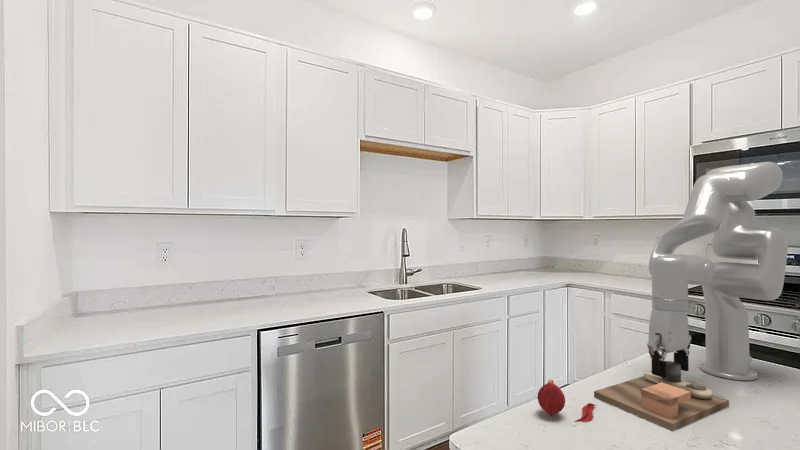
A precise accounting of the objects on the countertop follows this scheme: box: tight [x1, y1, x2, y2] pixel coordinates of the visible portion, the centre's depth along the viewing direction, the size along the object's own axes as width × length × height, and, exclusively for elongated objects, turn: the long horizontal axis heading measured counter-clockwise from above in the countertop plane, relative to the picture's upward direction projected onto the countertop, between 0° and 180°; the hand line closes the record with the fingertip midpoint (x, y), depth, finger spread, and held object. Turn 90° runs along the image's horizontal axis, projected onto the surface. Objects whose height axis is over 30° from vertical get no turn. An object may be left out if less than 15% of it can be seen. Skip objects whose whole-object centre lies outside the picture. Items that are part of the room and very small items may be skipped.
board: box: [593, 375, 730, 432], centre depth 92 cm, size 23×18×5 cm
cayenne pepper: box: [573, 402, 597, 423], centre depth 87 cm, size 12×5×2 cm, turn 123°
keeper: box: [641, 382, 691, 418], centre depth 86 cm, size 8×6×4 cm
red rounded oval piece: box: [537, 378, 566, 417], centre depth 86 cm, size 6×6×8 cm
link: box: [643, 360, 713, 399], centre depth 96 cm, size 14×5×6 cm, turn 27°
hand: (670, 372), depth 97 cm, fingers open, 9 cm apart
